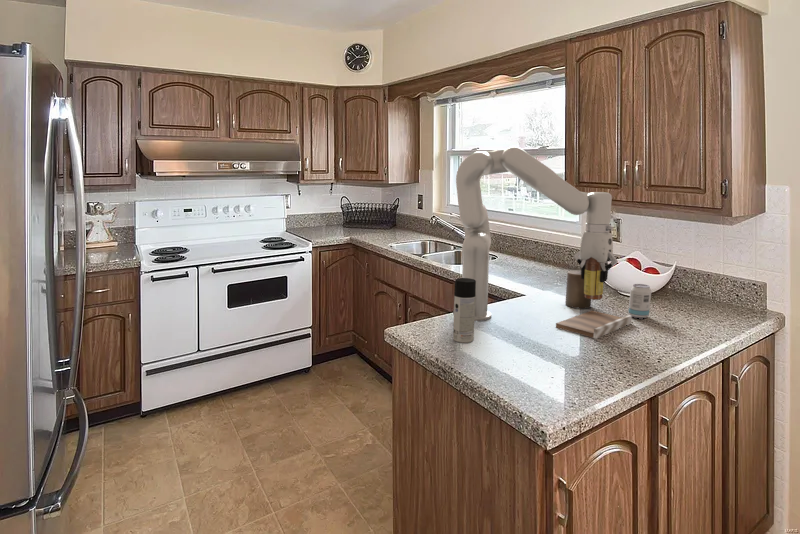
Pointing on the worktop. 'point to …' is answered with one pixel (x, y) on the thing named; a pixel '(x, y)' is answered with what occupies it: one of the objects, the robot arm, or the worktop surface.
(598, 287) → the sauce bottle
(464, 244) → the robot arm
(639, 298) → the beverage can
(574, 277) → the pillar candle
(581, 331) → the shelf board
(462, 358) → the worktop surface
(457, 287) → the spray can
